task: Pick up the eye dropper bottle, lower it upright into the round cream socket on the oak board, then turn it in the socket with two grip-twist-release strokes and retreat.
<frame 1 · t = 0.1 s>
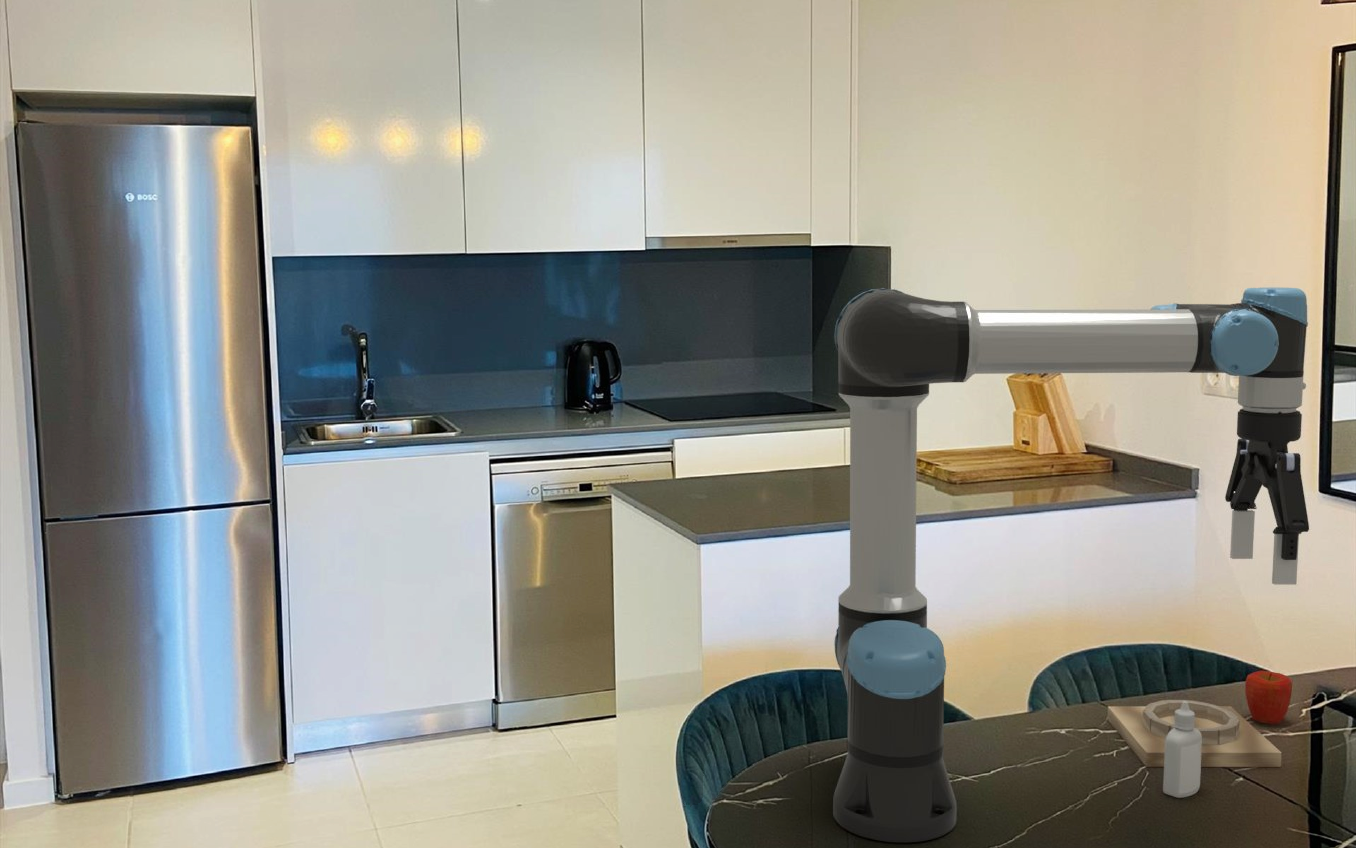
hand: (1261, 570, 171), 28 cm above the table, tool pointing down, fingers open, 13 cm apart
socket stand: (1189, 742, 187), on the table
eye dropper bottle: (1181, 792, 170), on the table
apple: (1266, 723, 194), on the table
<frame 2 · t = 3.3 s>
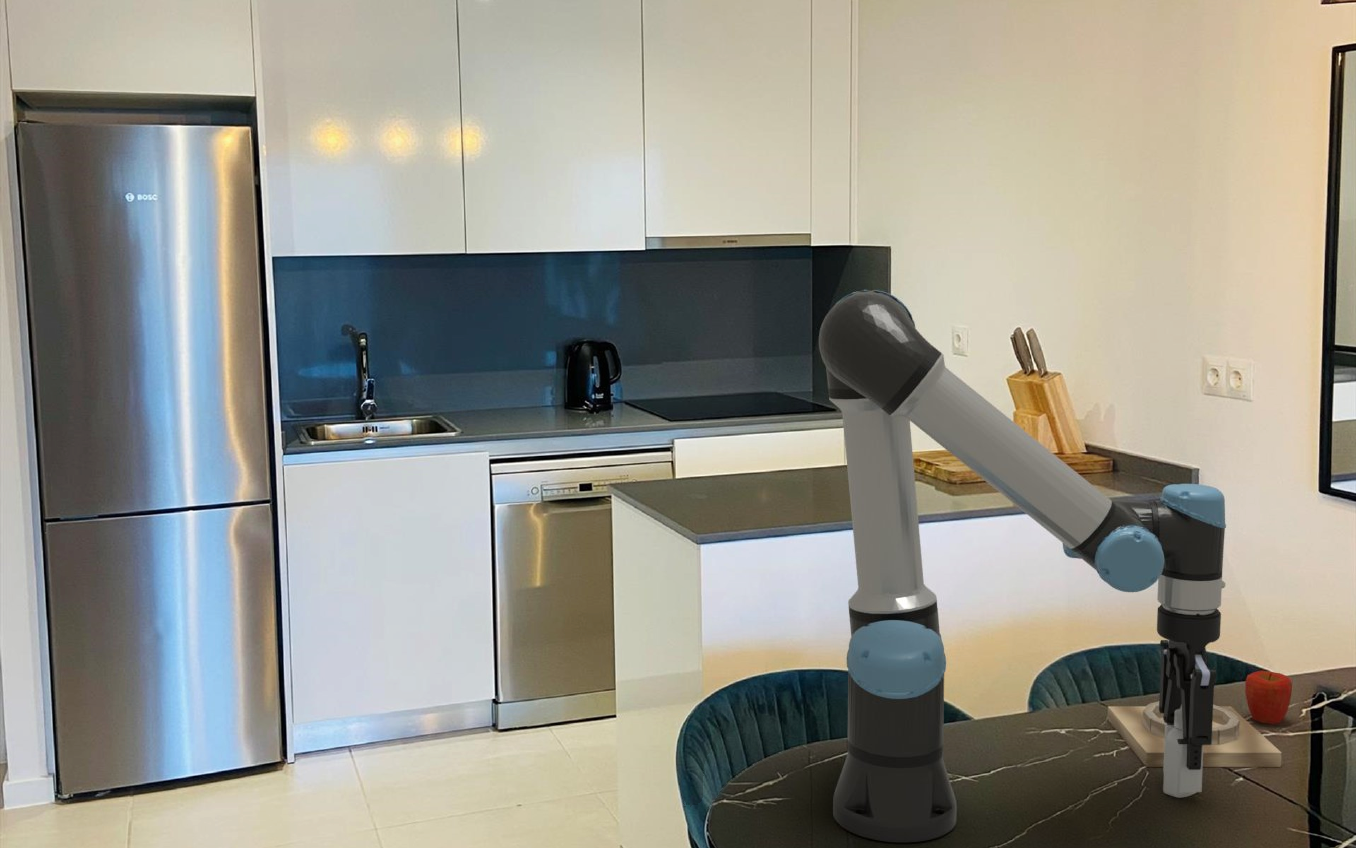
hand: (1182, 781, 170), 1 cm above the table, tool pointing down, fingers closed on eye dropper bottle, 5 cm apart
eye dropper bottle: (1181, 792, 170), on the table, touching gripper
everything else where it was.
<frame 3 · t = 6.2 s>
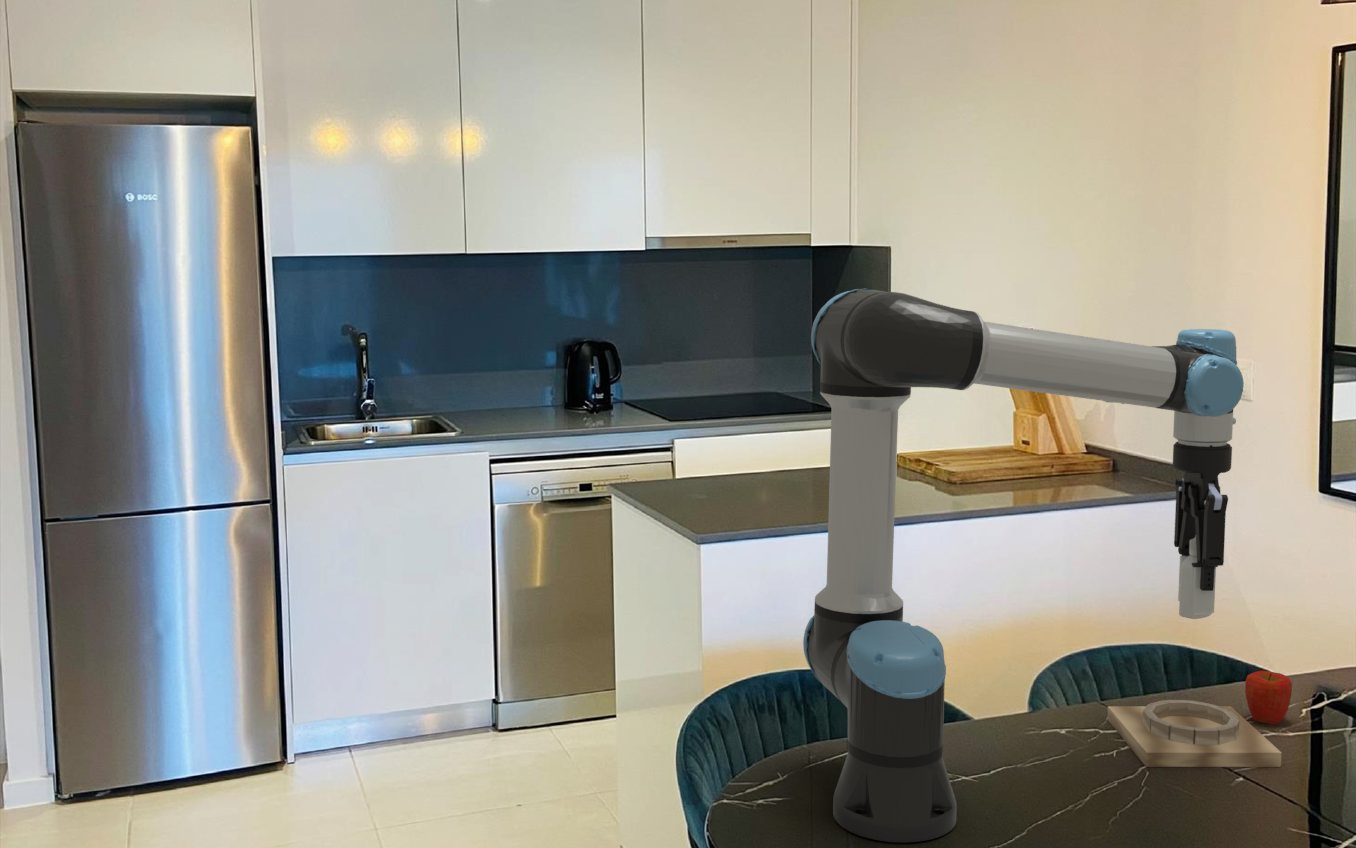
hand: (1195, 606, 184), 20 cm above the table, tool pointing down, fingers closed on eye dropper bottle, 5 cm apart
eye dropper bottle: (1195, 616, 184), point 18 cm above the table, touching gripper
everything else where it was.
when the fingers open (5 cm above the table, at t = 9.1 s): eye dropper bottle drops 1 cm, resting on socket stand.
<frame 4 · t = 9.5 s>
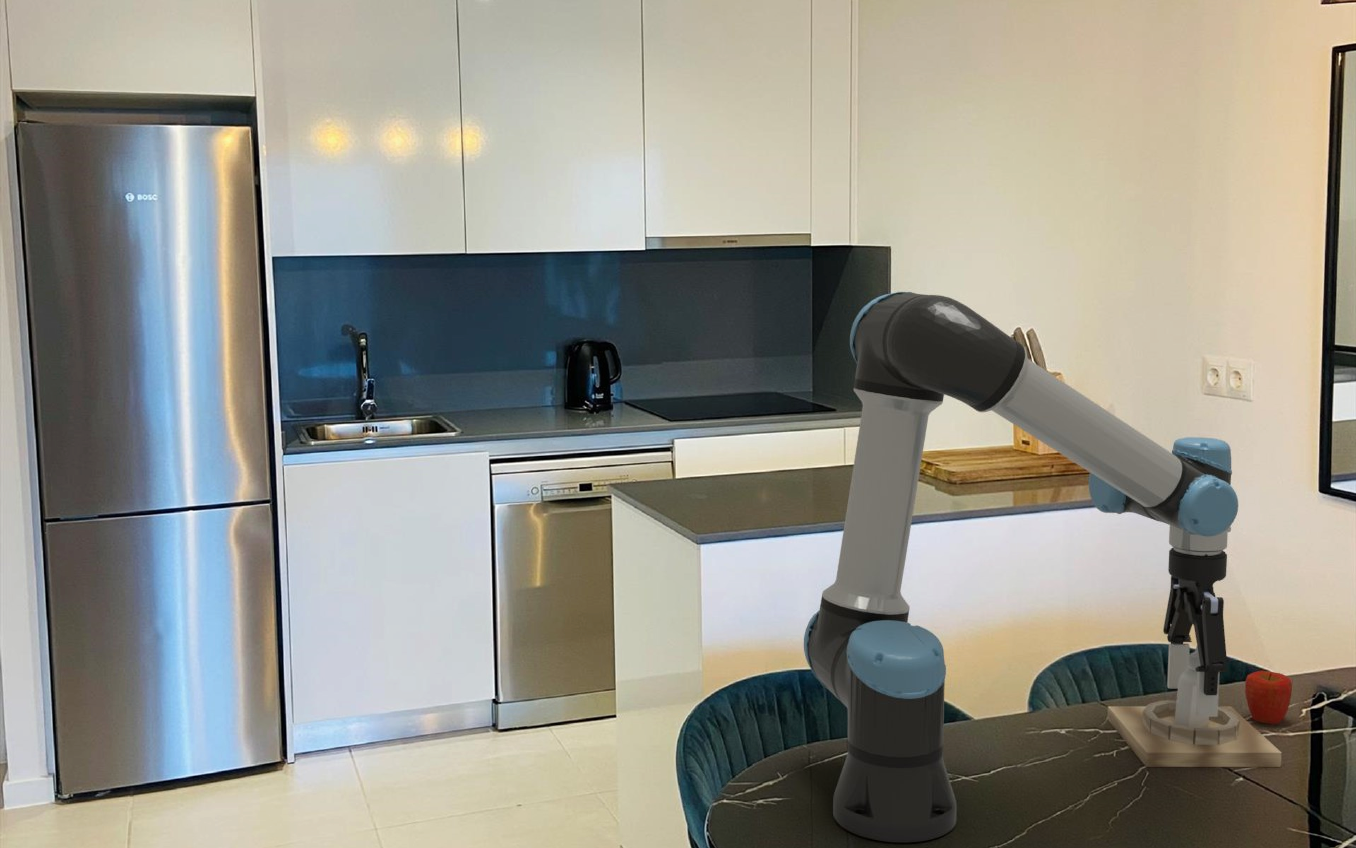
hand: (1191, 701, 186), 6 cm above the table, tool pointing down, fingers open, 11 cm apart
eye dropper bottle: (1190, 729, 187), point 2 cm above the table, touching socket stand
everything else where it was.
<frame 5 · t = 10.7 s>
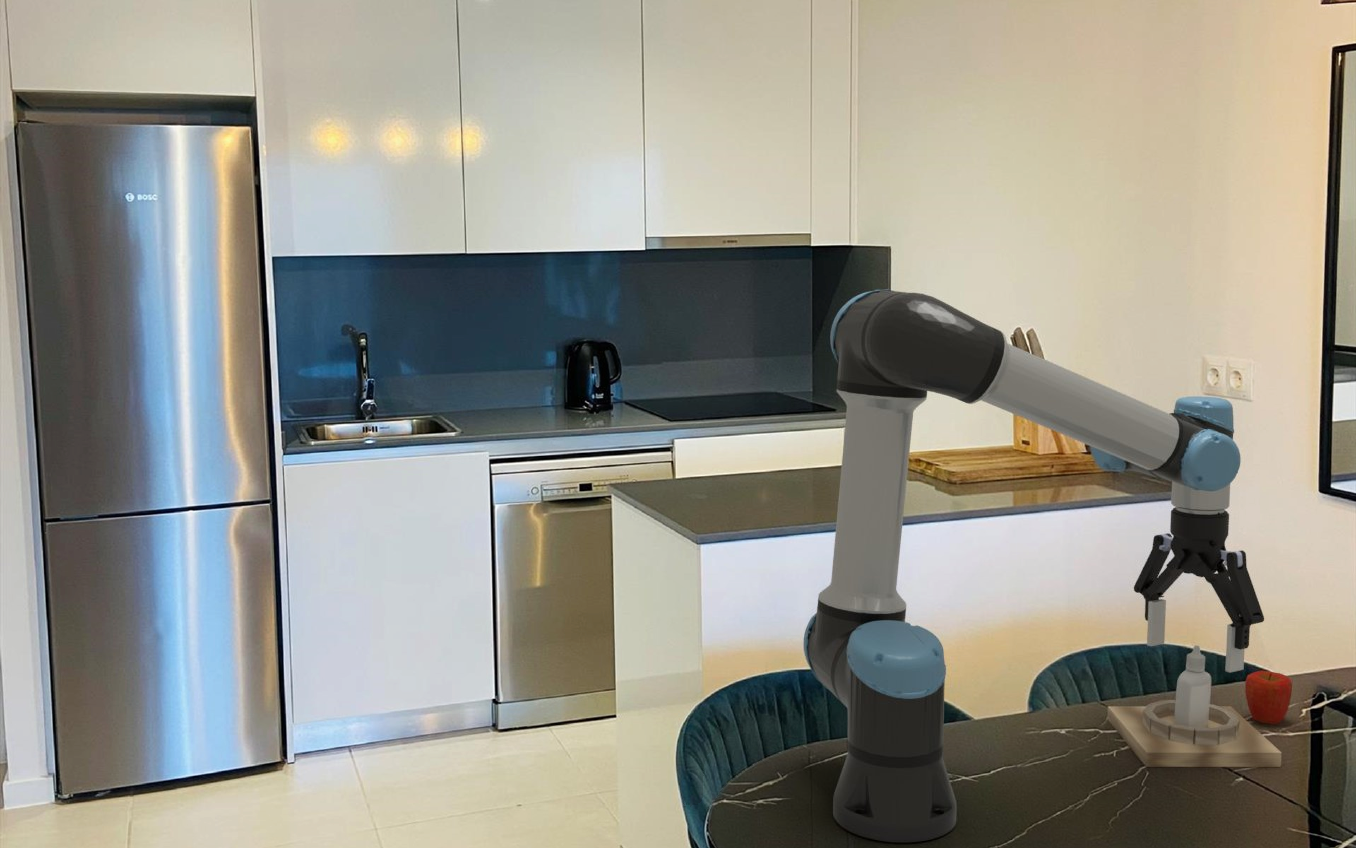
hand: (1193, 657, 185), 12 cm above the table, tool pointing down, fingers open, 13 cm apart
nothing on the table moved.
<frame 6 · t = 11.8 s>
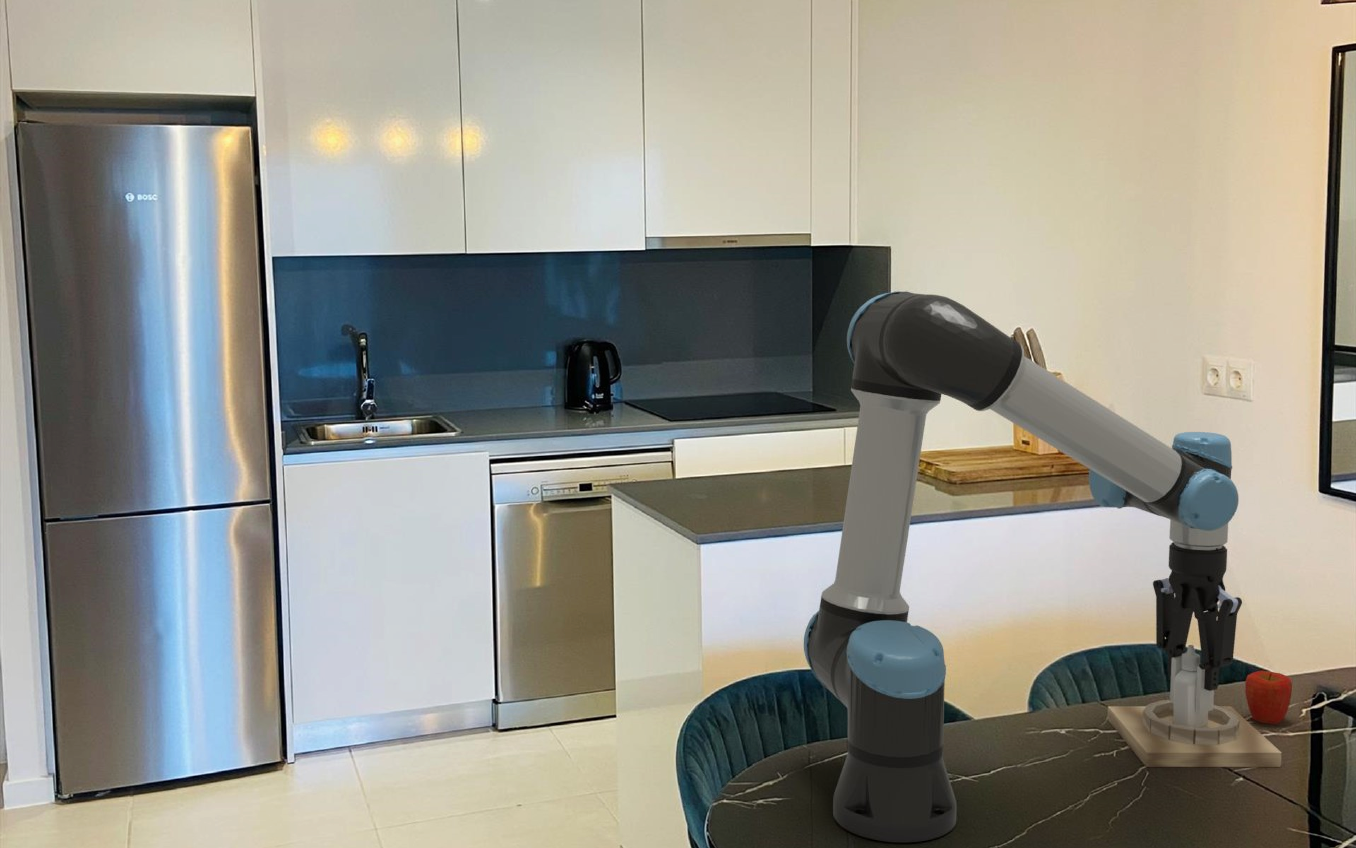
hand: (1191, 705, 186), 5 cm above the table, tool pointing down, fingers closed on eye dropper bottle, 4 cm apart
eye dropper bottle: (1190, 729, 187), point 2 cm above the table, touching gripper, socket stand
everything else where it was.
when the fingers open (5 cm above the table, at t = 12.8 s): eye dropper bottle stays where it is, resting on socket stand.
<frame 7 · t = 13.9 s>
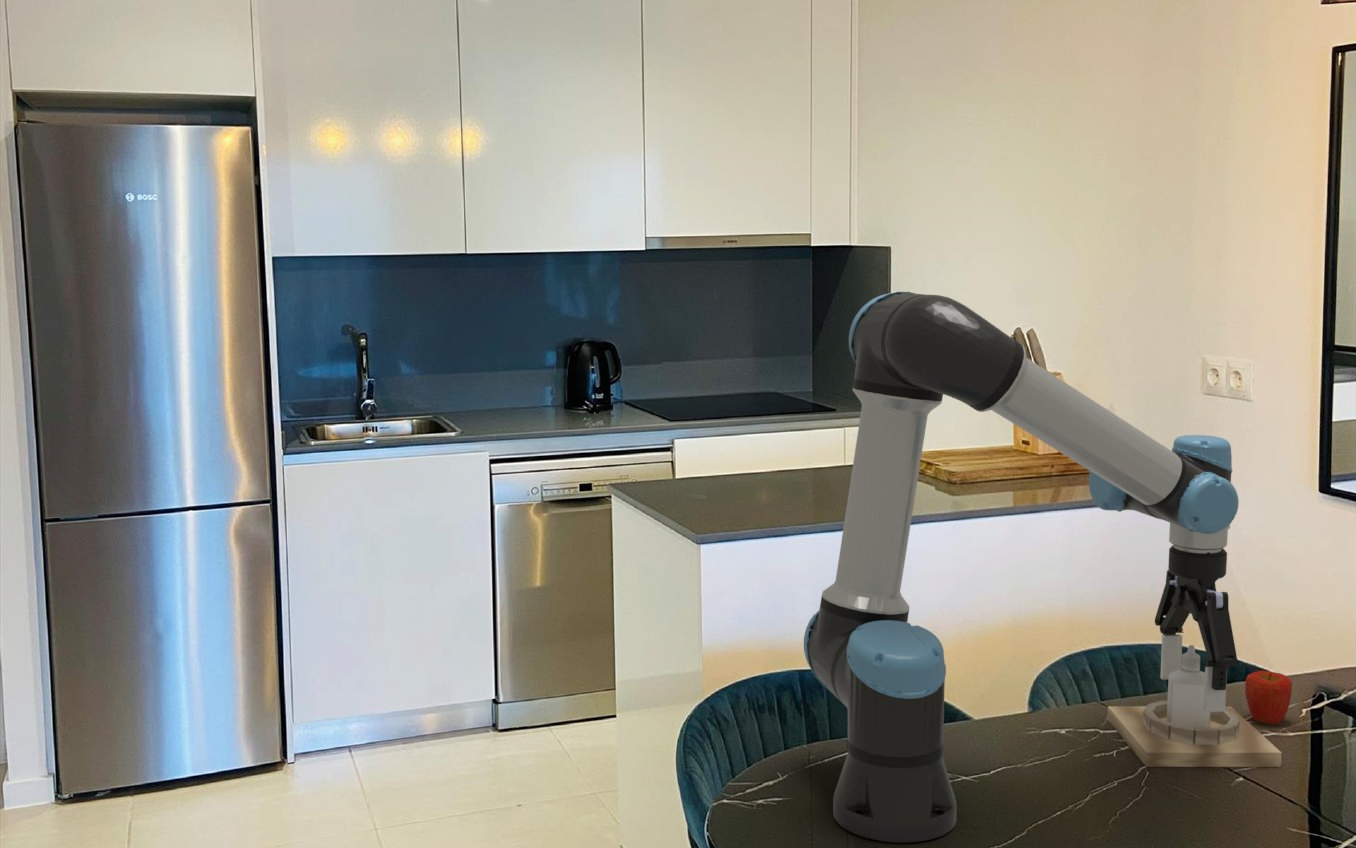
hand: (1191, 694, 186), 7 cm above the table, tool pointing down, fingers open, 13 cm apart
eye dropper bottle: (1187, 729, 187), point 2 cm above the table, touching socket stand
everything else where it was.
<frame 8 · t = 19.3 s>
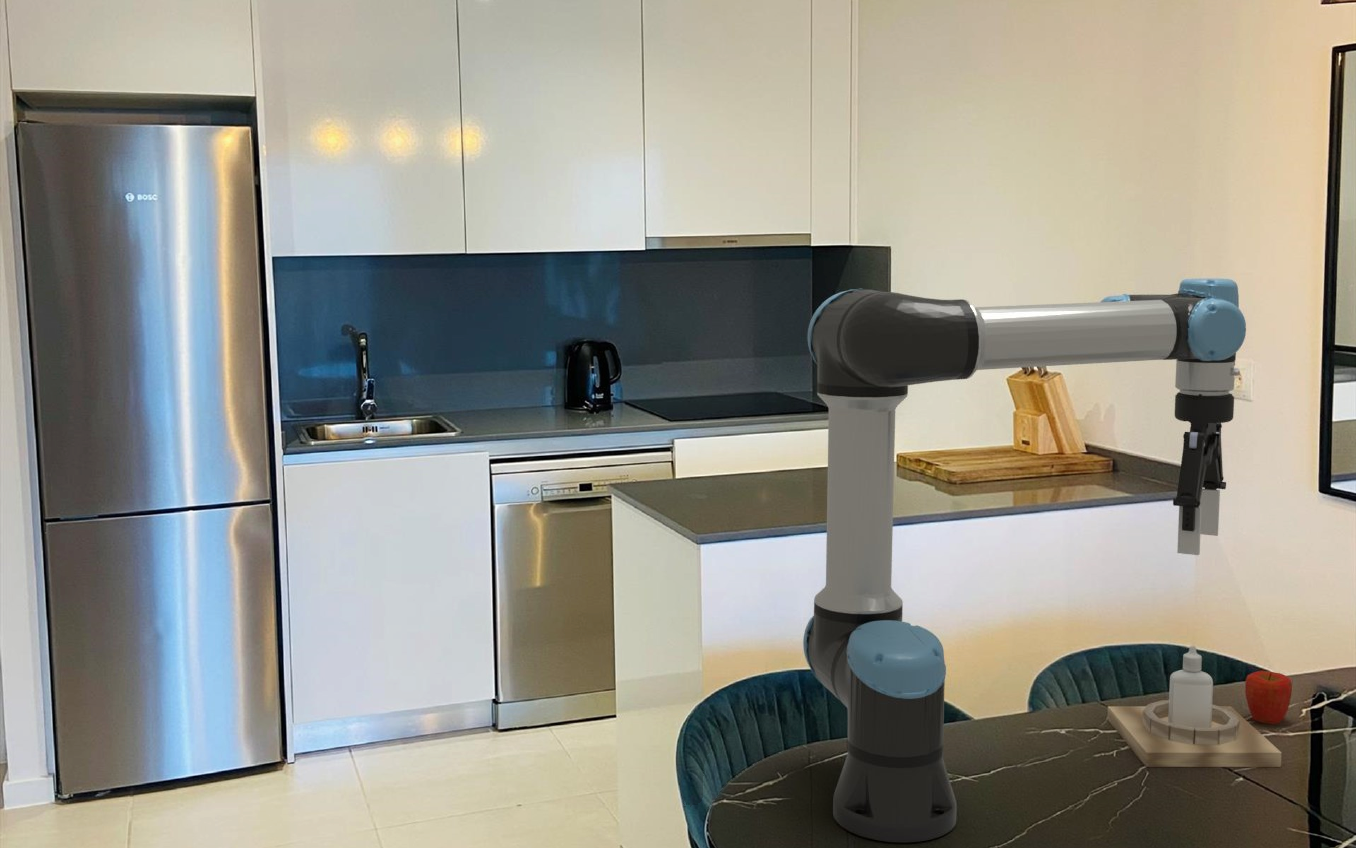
hand: (1198, 544, 183), 29 cm above the table, tool pointing down, fingers open, 13 cm apart
nothing on the table moved.
at the end: eye dropper bottle 0.2 cm from the socket stand (horizontally); eye dropper bottle tilted 0°; the gripper is holding nothing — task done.
